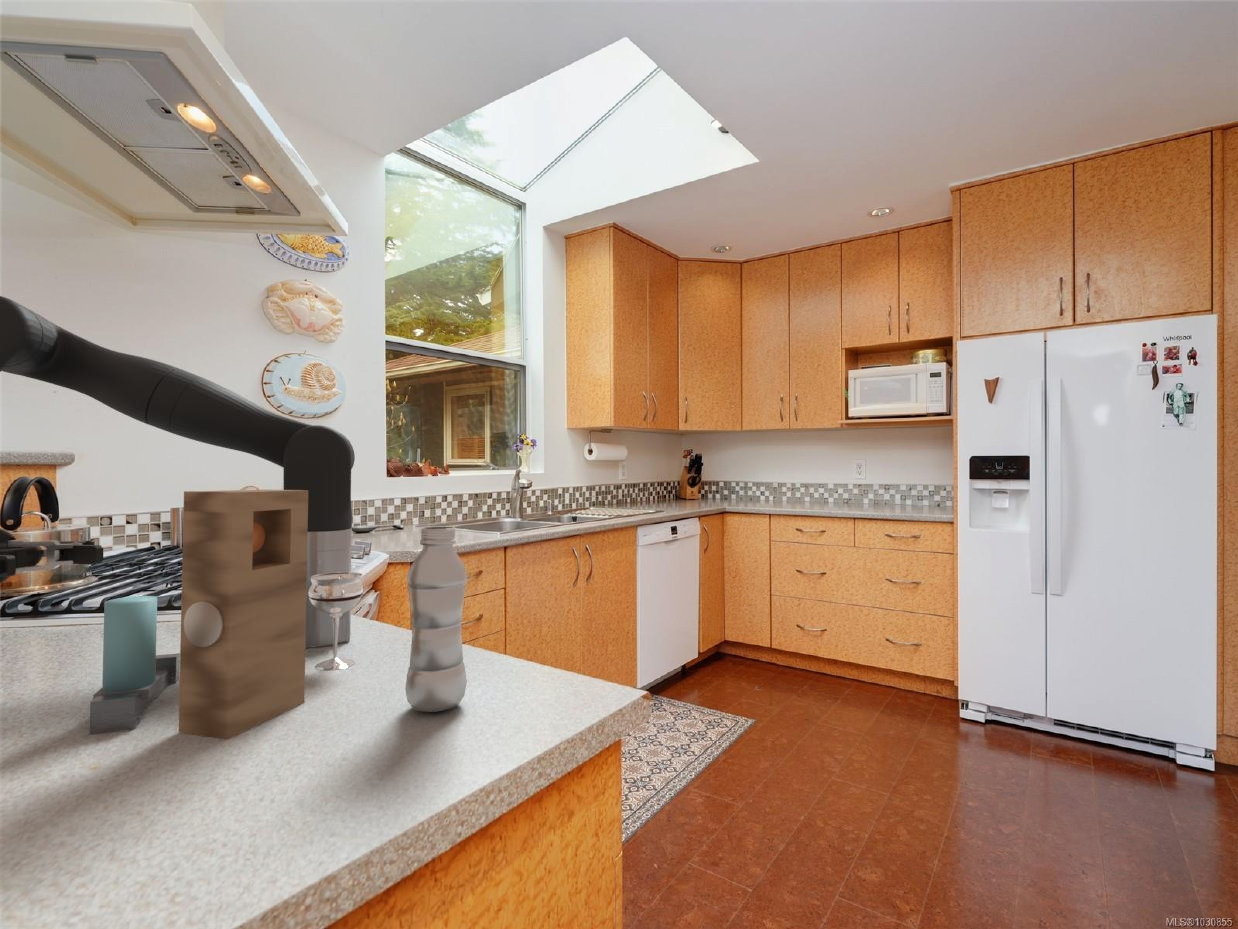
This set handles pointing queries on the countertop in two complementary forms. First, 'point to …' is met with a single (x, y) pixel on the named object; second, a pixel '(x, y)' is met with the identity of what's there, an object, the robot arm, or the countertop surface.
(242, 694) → the wooden window block
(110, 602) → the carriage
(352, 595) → the wineglass
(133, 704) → the rail
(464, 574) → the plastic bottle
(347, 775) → the countertop surface
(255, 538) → the plunger
